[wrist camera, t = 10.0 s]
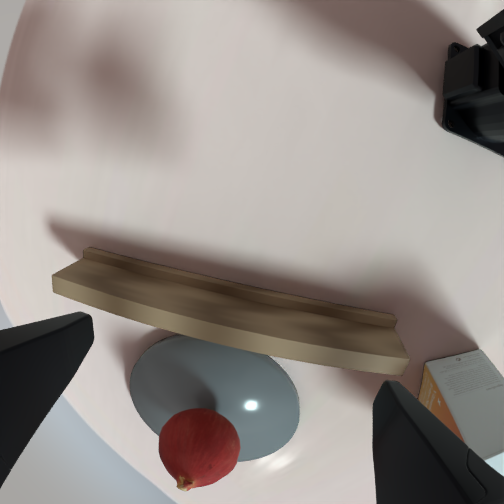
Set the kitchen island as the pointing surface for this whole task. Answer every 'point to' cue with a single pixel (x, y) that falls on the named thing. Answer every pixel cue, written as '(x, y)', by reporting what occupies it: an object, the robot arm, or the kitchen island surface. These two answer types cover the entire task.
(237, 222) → the kitchen island surface
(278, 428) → the slate plate
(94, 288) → the walnut screen
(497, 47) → the robot arm
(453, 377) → the small box
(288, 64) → the kitchen island surface
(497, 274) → the kitchen island surface
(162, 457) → the onion
